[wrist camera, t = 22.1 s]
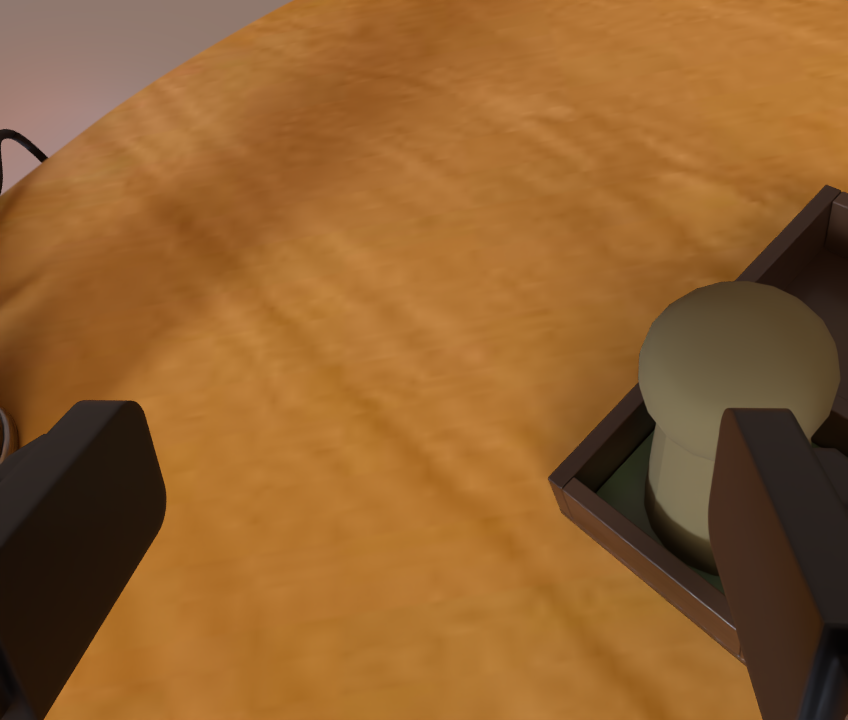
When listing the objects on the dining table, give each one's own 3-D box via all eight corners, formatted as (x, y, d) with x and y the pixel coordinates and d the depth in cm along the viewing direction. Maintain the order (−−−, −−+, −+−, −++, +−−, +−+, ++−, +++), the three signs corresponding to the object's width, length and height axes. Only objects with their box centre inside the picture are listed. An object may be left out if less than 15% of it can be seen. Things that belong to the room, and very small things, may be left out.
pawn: (795, 418, 30) (833, 229, 21) (836, 573, 26) (901, 425, 18) (634, 435, 31) (607, 266, 22) (654, 583, 28) (631, 452, 19)
